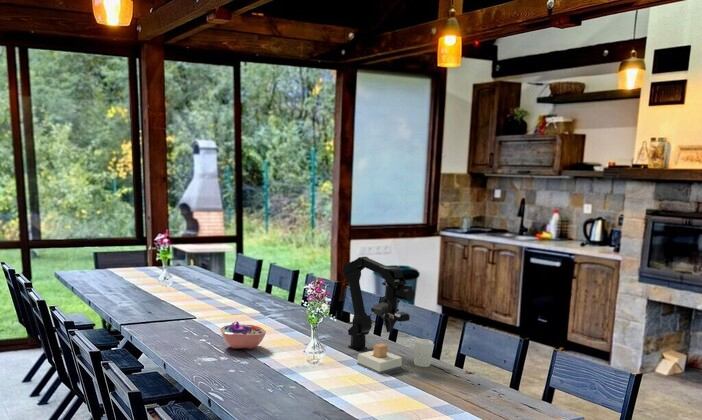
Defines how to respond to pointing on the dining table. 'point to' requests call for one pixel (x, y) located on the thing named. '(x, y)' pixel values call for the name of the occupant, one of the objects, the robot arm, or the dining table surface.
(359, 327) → the robot arm
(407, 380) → the dining table surface
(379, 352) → the plug
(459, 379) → the dining table surface
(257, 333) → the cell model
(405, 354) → the dining table surface
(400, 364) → the socket plate
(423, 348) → the white cup
